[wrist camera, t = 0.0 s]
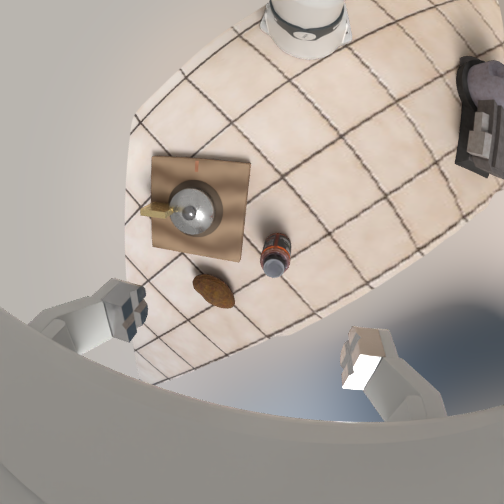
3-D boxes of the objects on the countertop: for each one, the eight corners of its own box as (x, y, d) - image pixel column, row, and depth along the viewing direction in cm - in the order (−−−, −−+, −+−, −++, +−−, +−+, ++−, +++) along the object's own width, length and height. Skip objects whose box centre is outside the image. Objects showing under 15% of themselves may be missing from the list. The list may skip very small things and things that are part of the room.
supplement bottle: (260, 249, 62) (252, 273, 51) (271, 227, 59) (265, 248, 49) (284, 261, 62) (280, 287, 52) (296, 239, 59) (295, 262, 49)
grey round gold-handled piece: (217, 189, 55) (208, 196, 50) (214, 234, 59) (205, 245, 54) (153, 183, 56) (139, 189, 51) (154, 225, 61) (141, 234, 55)
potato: (203, 262, 66) (193, 276, 59) (244, 285, 66) (239, 301, 60) (193, 281, 69) (183, 296, 62) (233, 303, 69) (226, 320, 63)
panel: (156, 155, 56) (151, 156, 54) (250, 163, 54) (249, 164, 52) (156, 243, 66) (152, 246, 64) (240, 258, 63) (238, 262, 61)
